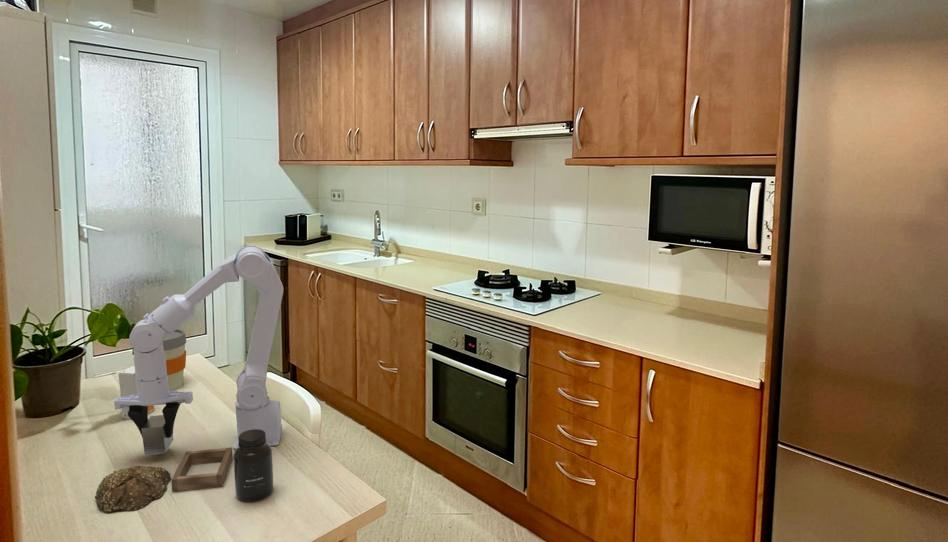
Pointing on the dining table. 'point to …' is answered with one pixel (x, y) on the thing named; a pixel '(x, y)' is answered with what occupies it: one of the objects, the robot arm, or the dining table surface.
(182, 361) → the reusable coffee cup
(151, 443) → the steel bracket block
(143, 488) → the bread roll
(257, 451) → the supplement bottle
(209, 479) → the wooden frame
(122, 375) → the skincare box
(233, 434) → the dining table surface
